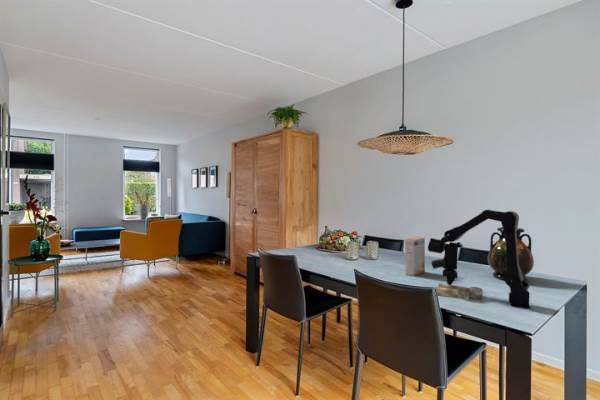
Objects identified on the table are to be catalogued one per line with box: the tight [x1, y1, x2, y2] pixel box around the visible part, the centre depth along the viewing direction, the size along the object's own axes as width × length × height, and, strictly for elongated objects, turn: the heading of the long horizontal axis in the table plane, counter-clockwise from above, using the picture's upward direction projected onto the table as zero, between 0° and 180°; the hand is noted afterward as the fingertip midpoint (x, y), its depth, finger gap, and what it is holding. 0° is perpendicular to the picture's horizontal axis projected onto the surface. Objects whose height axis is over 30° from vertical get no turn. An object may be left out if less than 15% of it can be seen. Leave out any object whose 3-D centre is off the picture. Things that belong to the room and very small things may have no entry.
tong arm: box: [438, 282, 483, 300], centre depth 149 cm, size 18×5×4 cm, turn 52°
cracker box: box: [404, 236, 426, 277], centre depth 188 cm, size 14×6×21 cm, turn 134°
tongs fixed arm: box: [434, 286, 470, 300], centre depth 147 cm, size 14×3×4 cm, turn 65°
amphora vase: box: [487, 226, 535, 282], centre depth 178 cm, size 22×22×28 cm
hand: (449, 286), depth 155 cm, fingers closed
